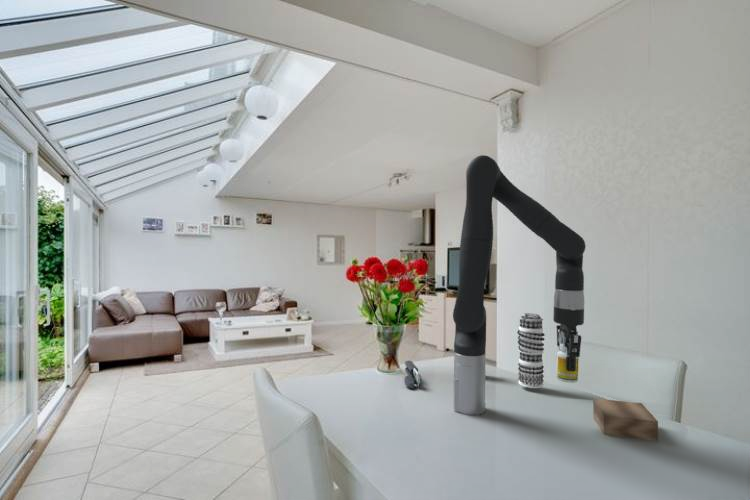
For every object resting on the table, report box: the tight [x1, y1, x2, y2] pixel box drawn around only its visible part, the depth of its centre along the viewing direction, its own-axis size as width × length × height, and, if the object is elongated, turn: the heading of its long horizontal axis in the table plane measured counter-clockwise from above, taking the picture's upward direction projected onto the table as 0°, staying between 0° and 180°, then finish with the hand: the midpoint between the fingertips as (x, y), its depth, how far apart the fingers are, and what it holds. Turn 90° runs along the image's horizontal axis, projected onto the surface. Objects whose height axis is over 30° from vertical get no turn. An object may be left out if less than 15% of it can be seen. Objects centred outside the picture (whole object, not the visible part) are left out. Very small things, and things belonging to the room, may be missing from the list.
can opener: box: [403, 360, 423, 389], centre depth 147 cm, size 19×6×5 cm, turn 3°
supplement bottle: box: [555, 344, 580, 384], centre depth 109 cm, size 5×5×10 cm
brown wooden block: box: [592, 397, 659, 442], centre depth 106 cm, size 12×12×6 cm
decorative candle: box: [516, 312, 546, 389], centre depth 142 cm, size 9×9×25 cm
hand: (567, 367), depth 109 cm, fingers closed on supplement bottle, 5 cm apart
